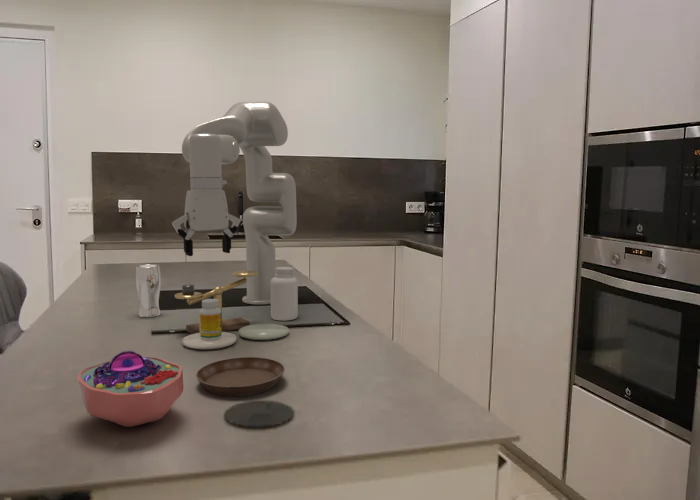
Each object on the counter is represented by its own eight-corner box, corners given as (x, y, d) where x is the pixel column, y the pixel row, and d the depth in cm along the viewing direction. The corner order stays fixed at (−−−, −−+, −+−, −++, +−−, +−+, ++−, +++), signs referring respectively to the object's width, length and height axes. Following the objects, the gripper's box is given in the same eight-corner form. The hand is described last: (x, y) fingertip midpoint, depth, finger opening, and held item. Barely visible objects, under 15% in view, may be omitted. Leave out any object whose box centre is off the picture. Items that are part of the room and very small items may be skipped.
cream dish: (223, 334, 159) (223, 329, 159) (244, 345, 148) (244, 340, 148) (175, 341, 151) (175, 336, 151) (194, 354, 141) (193, 348, 141)
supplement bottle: (197, 336, 151) (196, 299, 150) (218, 334, 154) (218, 297, 152) (202, 341, 146) (201, 303, 145) (224, 339, 149) (223, 301, 148)
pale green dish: (274, 326, 167) (274, 321, 167) (297, 336, 157) (297, 331, 157) (230, 333, 160) (230, 327, 160) (252, 344, 149) (252, 339, 149)
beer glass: (154, 318, 175) (152, 268, 173) (132, 317, 176) (130, 267, 175) (166, 313, 182) (164, 264, 180) (145, 312, 183) (143, 263, 181)
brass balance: (251, 320, 174) (251, 269, 172) (262, 325, 168) (262, 273, 166) (172, 332, 160) (170, 277, 159) (181, 338, 155) (179, 281, 153)
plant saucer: (204, 406, 110) (204, 390, 110) (190, 376, 127) (189, 362, 126) (296, 392, 117) (296, 377, 117) (271, 366, 133) (271, 352, 133)
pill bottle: (302, 316, 179) (302, 267, 177) (289, 322, 172) (288, 270, 170) (280, 313, 182) (279, 265, 180) (265, 319, 175) (264, 268, 173)
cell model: (84, 453, 91) (80, 381, 90) (76, 407, 109) (73, 347, 107) (196, 431, 99) (194, 365, 98) (171, 392, 117) (170, 335, 115)
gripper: (232, 184, 155) (234, 249, 157) (166, 184, 145) (168, 254, 147) (245, 184, 149) (246, 253, 151) (176, 185, 139) (179, 258, 141)
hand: (208, 253), depth 149 cm, fingers open, 9 cm apart
